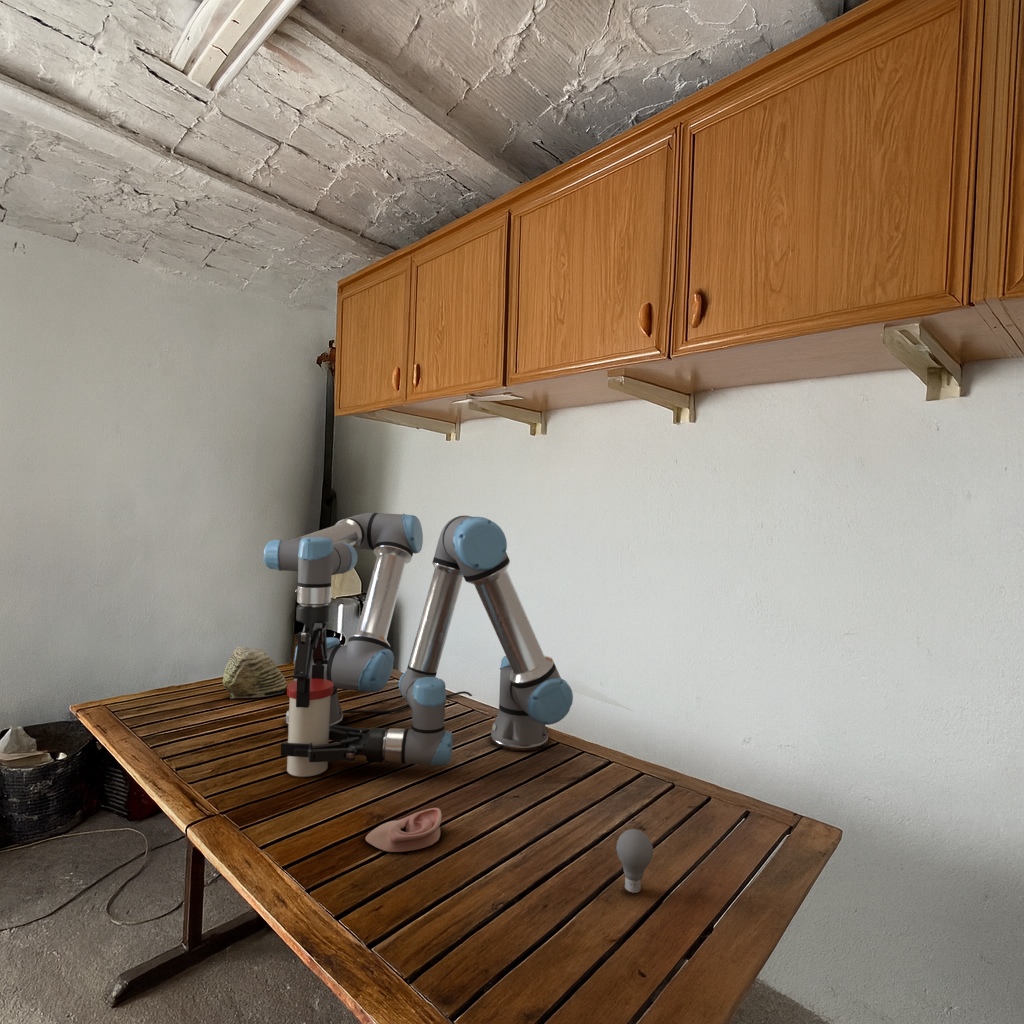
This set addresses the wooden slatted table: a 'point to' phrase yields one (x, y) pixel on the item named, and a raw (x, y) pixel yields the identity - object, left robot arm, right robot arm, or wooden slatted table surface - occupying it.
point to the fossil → (252, 674)
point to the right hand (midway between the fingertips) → (289, 740)
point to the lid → (313, 689)
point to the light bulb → (634, 857)
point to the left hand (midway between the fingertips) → (310, 699)
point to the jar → (308, 734)
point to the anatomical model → (408, 832)
